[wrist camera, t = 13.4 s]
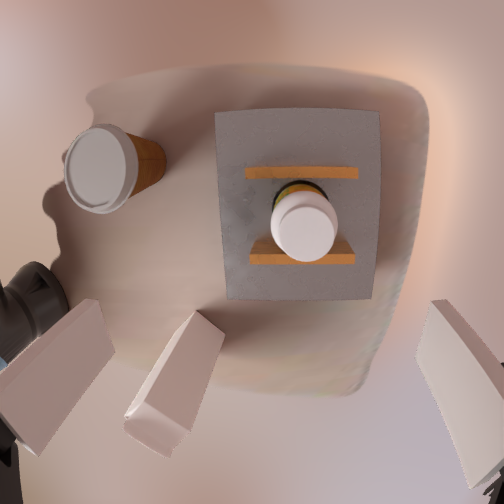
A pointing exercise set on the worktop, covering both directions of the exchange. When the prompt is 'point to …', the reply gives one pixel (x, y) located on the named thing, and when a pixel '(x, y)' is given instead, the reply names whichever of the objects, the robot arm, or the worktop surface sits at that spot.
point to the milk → (175, 387)
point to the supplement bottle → (303, 223)
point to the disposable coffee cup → (110, 167)
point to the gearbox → (291, 173)
